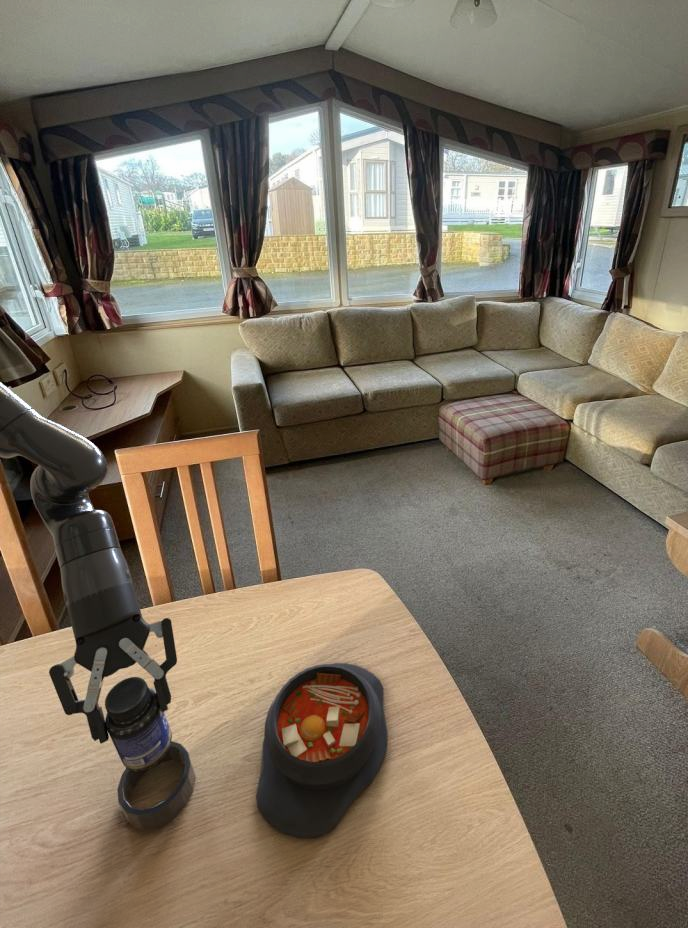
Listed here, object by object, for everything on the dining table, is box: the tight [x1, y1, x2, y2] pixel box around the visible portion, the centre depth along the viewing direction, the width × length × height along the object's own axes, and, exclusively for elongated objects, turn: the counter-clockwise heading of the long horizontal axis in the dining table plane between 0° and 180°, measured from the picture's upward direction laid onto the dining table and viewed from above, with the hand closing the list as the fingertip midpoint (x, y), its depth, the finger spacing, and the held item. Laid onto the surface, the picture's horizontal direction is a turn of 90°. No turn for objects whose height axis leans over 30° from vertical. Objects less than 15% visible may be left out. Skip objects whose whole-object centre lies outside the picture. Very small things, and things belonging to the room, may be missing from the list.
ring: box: [117, 740, 196, 831], centre depth 66 cm, size 9×9×5 cm
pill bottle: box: [104, 676, 173, 771], centre depth 61 cm, size 6×6×11 cm
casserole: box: [255, 662, 389, 839], centre depth 71 cm, size 25×19×8 cm
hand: (135, 724), depth 59 cm, fingers closed on pill bottle, 6 cm apart
